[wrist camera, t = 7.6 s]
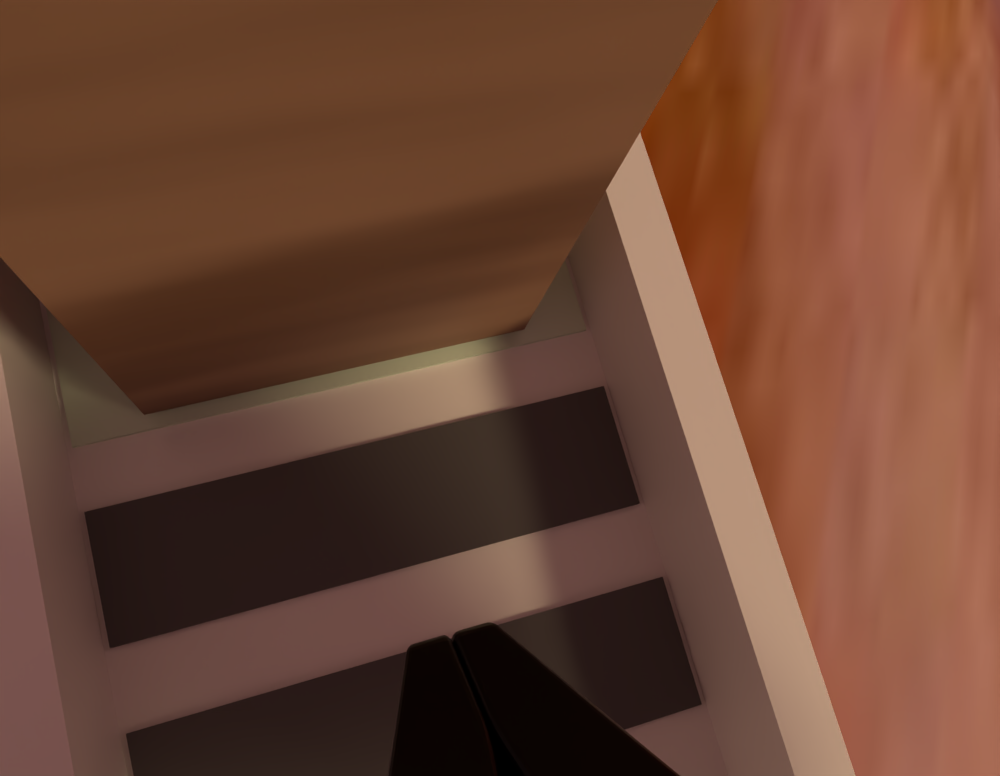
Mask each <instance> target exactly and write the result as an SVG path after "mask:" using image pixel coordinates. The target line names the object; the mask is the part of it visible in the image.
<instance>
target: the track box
mask: <svg viewBox="0 0 1000 776" xmlns="http://www.w3.org/2000/svg"><path fill="white" fill-rule="evenodd" d="M487 622H491V623H495V624H497V625H498V626H499V627H501V628H502V629H503V630H504V631H505V632H507V633H508V634H509V635H510V636H512V637H513V638H514V639H515V640H516V641H518V642H519V643H520V644H521V645H522V646H524V647H525V648H526V649H527V650H529V651H530V652H531V653H532V654H533V655H535V656H536V657H537V658H538V659H539V660H541V661H542V662H543V663H544V664H546V665H547V666H548V667H549V668H550V669H552V670H553V671H554V672H555V673H556V674H558V675H559V676H560V677H561V678H563V679H564V680H565V681H566V682H567V683H569V684H570V685H571V686H572V687H573V688H575V689H576V690H577V691H578V692H579V693H581V694H582V695H583V696H584V697H586V698H587V699H588V700H589V701H590V702H592V703H593V704H594V705H595V706H596V707H598V708H599V709H600V710H601V711H603V712H604V713H605V714H606V715H607V716H609V717H610V718H611V719H612V720H613V721H615V722H616V723H617V724H618V725H620V726H621V727H622V728H623V729H624V730H626V731H627V732H628V733H629V734H630V735H632V736H633V737H634V738H635V739H636V740H638V741H639V742H640V743H641V744H643V745H644V746H645V747H646V748H647V749H649V750H650V751H651V752H652V753H653V754H655V755H656V756H657V757H658V758H660V759H661V760H662V761H663V762H664V763H666V764H667V765H668V766H669V767H670V768H672V769H673V770H674V771H675V772H677V773H678V774H679V775H680V776H855V773H854V770H853V767H852V764H851V761H850V758H849V755H848V752H847V749H846V746H845V743H844V740H843V737H842V734H841V731H840V728H839V725H838V722H837V719H836V716H835V713H834V710H833V707H832V704H831V701H830V698H829V695H828V692H827V689H826V686H825V683H824V680H823V677H822V674H821V671H820V668H819V665H818V662H817V659H816V656H815V653H814V650H813V647H812V644H811V641H810V638H809V635H808V632H807V629H806V626H805V623H804V620H803V617H802V614H801V612H800V609H799V606H798V603H797V600H796V597H795V594H794V591H793V588H792V585H791V582H790V579H789V576H788V573H787V570H786V567H785V564H784V561H783V558H782V555H781V552H780V549H779V546H778V543H777V540H776V537H775V534H774V531H773V528H772V525H771V522H770V519H769V516H768V513H767V510H766V507H765V504H764V501H763V498H762V495H761V492H760V489H759V486H758V483H757V480H756V477H755V474H754V471H753V468H752V465H751V462H750V459H749V456H748V453H747V450H746V447H745V444H744V441H743V438H742V435H741V432H740V429H739V426H738V423H737V420H736V417H735V414H734V411H733V408H732V406H731V403H730V400H729V397H728V394H727V391H726V388H725V385H724V382H723V379H722V376H721V373H720V370H719V367H718V364H717V361H716V358H715V355H714V352H713V349H712V346H711V343H710V340H709V337H708V334H707V331H706V328H705V325H704V322H703V319H702V316H701V313H700V310H699V307H698V304H697V301H696V298H695V295H694V292H693V289H692V286H691V283H690V280H689V277H688V274H687V271H686V268H685V265H684V262H683V259H682V256H681V253H680V250H679V247H678V244H677V241H676V238H675V235H674V232H673V229H672V226H671V223H670V220H669V217H668V214H667V211H666V208H665V205H664V202H663V200H662V197H661V194H660V191H659V188H658V185H657V182H656V179H655V176H654V173H653V170H652V167H651V164H650V161H649V158H648V155H647V152H646V149H645V146H644V143H643V140H642V137H641V134H640V133H639V135H638V137H637V138H636V140H635V142H634V144H633V145H632V147H631V149H630V150H629V152H628V154H627V155H626V157H625V159H624V161H623V162H622V164H621V166H620V167H619V169H618V171H617V172H616V174H615V176H614V178H613V179H612V181H611V183H610V184H609V186H608V188H607V189H606V191H605V193H604V195H603V196H602V198H601V200H600V201H599V203H598V205H597V206H596V208H595V210H594V212H593V213H592V215H591V217H590V218H589V220H588V222H587V223H586V225H585V227H584V229H583V230H582V232H581V234H580V235H579V237H578V239H577V240H576V242H575V244H574V246H573V247H572V249H571V251H570V252H569V254H568V256H567V257H566V259H565V261H564V263H563V264H562V266H561V268H560V269H559V271H558V273H557V274H556V276H555V278H554V280H553V281H552V283H551V285H550V286H549V288H548V290H547V291H546V293H545V295H544V297H543V298H542V300H541V302H540V303H539V305H538V307H537V308H536V310H535V312H534V314H533V315H532V317H531V319H530V320H529V322H528V324H527V325H526V327H525V329H524V330H520V331H515V332H511V333H506V334H502V335H498V336H493V337H489V338H484V339H480V340H475V341H471V342H466V343H462V344H457V345H453V346H449V347H444V348H440V349H435V350H431V351H426V352H422V353H417V354H413V355H409V356H404V357H400V358H395V359H391V360H386V361H382V362H377V363H373V364H369V365H364V366H360V367H355V368H351V369H346V370H342V371H337V372H333V373H329V374H324V375H320V376H315V377H311V378H306V379H302V380H297V381H293V382H288V383H284V384H280V385H275V386H271V387H266V388H262V389H257V390H253V391H248V392H244V393H240V394H235V395H231V396H226V397H222V398H217V399H213V400H208V401H204V402H200V403H195V404H191V405H186V406H182V407H177V408H173V409H168V410H164V411H159V412H155V413H151V414H146V415H144V414H143V413H142V412H141V411H140V410H139V409H138V408H137V406H136V405H135V404H134V403H133V402H132V401H131V400H130V399H129V398H128V397H127V395H126V394H125V393H124V392H123V391H122V390H121V389H120V388H119V387H118V386H117V385H116V383H115V382H114V381H113V380H112V379H111V378H110V377H109V376H108V375H107V374H106V372H105V371H104V370H103V369H102V368H101V367H100V366H99V365H98V364H97V363H96V362H95V360H94V359H93V358H92V357H91V356H90V355H89V354H88V353H87V352H86V351H85V349H84V348H83V347H82V346H81V345H80V344H79V343H78V342H77V341H76V340H75V339H74V337H73V336H72V335H71V334H70V333H69V332H68V331H67V330H66V329H65V328H64V326H63V325H62V324H61V323H60V322H59V321H58V320H57V319H56V318H55V317H54V315H53V314H52V313H51V312H50V311H49V310H48V309H47V308H46V307H45V306H44V305H43V303H42V302H41V301H40V300H39V299H38V298H37V297H36V296H35V295H34V294H33V292H32V291H31V290H30V289H29V288H28V287H27V286H26V285H25V284H24V283H23V282H22V280H21V279H20V278H19V277H18V276H17V275H16V274H15V273H14V272H13V271H12V269H11V268H10V267H9V266H8V265H7V264H6V263H5V262H4V261H3V260H2V259H1V257H0V776H387V775H388V769H389V762H390V755H391V749H392V742H393V735H394V728H395V722H396V715H397V708H398V701H399V695H400V688H401V681H402V675H403V668H404V661H405V655H406V651H407V649H408V647H409V646H410V645H412V644H414V643H418V642H421V641H425V640H428V639H431V638H435V637H438V636H442V635H446V636H448V637H449V638H451V640H452V636H453V635H454V633H455V632H457V631H459V630H462V629H466V628H469V627H473V626H476V625H480V624H483V623H487Z"/></svg>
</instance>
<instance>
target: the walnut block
mask: <svg viewBox="0 0 1000 776" xmlns="http://www.w3.org/2000/svg"><path fill="white" fill-rule="evenodd" d="M717 1H718V0H0V257H1V259H2V260H3V261H4V262H5V263H6V264H7V265H8V266H9V267H10V268H11V269H12V271H13V272H14V273H15V274H16V275H17V276H18V277H19V278H20V279H21V280H22V282H23V283H24V284H25V285H26V286H27V287H28V288H29V289H30V290H31V291H32V292H33V294H34V295H35V296H36V297H37V298H38V299H39V300H40V301H41V302H42V303H43V305H44V306H45V307H46V308H47V309H48V310H49V311H50V312H51V313H52V314H53V315H54V317H55V318H56V319H57V320H58V321H59V322H60V323H61V324H62V325H63V326H64V328H65V329H66V330H67V331H68V332H69V333H70V334H71V335H72V336H73V337H74V339H75V340H76V341H77V342H78V343H79V344H80V345H81V346H82V347H83V348H84V349H85V351H86V352H87V353H88V354H89V355H90V356H91V357H92V358H93V359H94V360H95V362H96V363H97V364H98V365H99V366H100V367H101V368H102V369H103V370H104V371H105V372H106V374H107V375H108V376H109V377H110V378H111V379H112V380H113V381H114V382H115V383H116V385H117V386H118V387H119V388H120V389H121V390H122V391H123V392H124V393H125V394H126V395H127V397H128V398H129V399H130V400H131V401H132V402H133V403H134V404H135V405H136V406H137V408H138V409H139V410H140V411H141V412H142V413H143V414H144V415H146V414H151V413H155V412H159V411H164V410H168V409H173V408H177V407H182V406H186V405H191V404H195V403H200V402H204V401H208V400H213V399H217V398H222V397H226V396H231V395H235V394H240V393H244V392H248V391H253V390H257V389H262V388H266V387H271V386H275V385H280V384H284V383H288V382H293V381H297V380H302V379H306V378H311V377H315V376H320V375H324V374H329V373H333V372H337V371H342V370H346V369H351V368H355V367H360V366H364V365H369V364H373V363H377V362H382V361H386V360H391V359H395V358H400V357H404V356H409V355H413V354H417V353H422V352H426V351H431V350H435V349H440V348H444V347H449V346H453V345H457V344H462V343H466V342H471V341H475V340H480V339H484V338H489V337H493V336H498V335H502V334H506V333H511V332H515V331H520V330H524V329H525V327H526V325H527V324H528V322H529V320H530V319H531V317H532V315H533V314H534V312H535V310H536V308H537V307H538V305H539V303H540V302H541V300H542V298H543V297H544V295H545V293H546V291H547V290H548V288H549V286H550V285H551V283H552V281H553V280H554V278H555V276H556V274H557V273H558V271H559V269H560V268H561V266H562V264H563V263H564V261H565V259H566V257H567V256H568V254H569V252H570V251H571V249H572V247H573V246H574V244H575V242H576V240H577V239H578V237H579V235H580V234H581V232H582V230H583V229H584V227H585V225H586V223H587V222H588V220H589V218H590V217H591V215H592V213H593V212H594V210H595V208H596V206H597V205H598V203H599V201H600V200H601V198H602V196H603V195H604V193H605V191H606V189H607V188H608V186H609V184H610V183H611V181H612V179H613V178H614V176H615V174H616V172H617V171H618V169H619V167H620V166H621V164H622V162H623V161H624V159H625V157H626V155H627V154H628V152H629V150H630V149H631V147H632V145H633V144H634V142H635V140H636V138H637V137H638V135H639V133H640V132H641V130H642V128H643V127H644V125H645V123H646V121H647V120H648V118H649V116H650V115H651V113H652V111H653V110H654V108H655V106H656V104H657V103H658V101H659V99H660V98H661V96H662V94H663V93H664V91H665V89H666V87H667V86H668V84H669V82H670V81H671V79H672V77H673V76H674V74H675V72H676V70H677V69H678V67H679V65H680V64H681V62H682V60H683V59H684V57H685V55H686V53H687V52H688V50H689V48H690V47H691V45H692V43H693V42H694V40H695V38H696V36H697V35H698V33H699V31H700V30H701V28H702V26H703V25H704V23H705V21H706V19H707V18H708V16H709V14H710V13H711V11H712V9H713V8H714V6H715V4H716V3H717Z"/></svg>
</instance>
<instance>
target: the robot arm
mask: <svg viewBox="0 0 1000 776" xmlns="http://www.w3.org/2000/svg"><path fill="white" fill-rule="evenodd" d="M387 776H680V775H679V774H678V773H677V772H675V771H674V770H673V769H672V768H670V767H669V766H668V765H667V764H666V763H664V762H663V761H662V760H661V759H660V758H658V757H657V756H656V755H655V754H653V753H652V752H651V751H650V750H649V749H647V748H646V747H645V746H644V745H643V744H641V743H640V742H639V741H638V740H636V739H635V738H634V737H633V736H632V735H630V734H629V733H628V732H627V731H626V730H624V729H623V728H622V727H621V726H620V725H618V724H617V723H616V722H615V721H613V720H612V719H611V718H610V717H609V716H607V715H606V714H605V713H604V712H603V711H601V710H600V709H599V708H598V707H596V706H595V705H594V704H593V703H592V702H590V701H589V700H588V699H587V698H586V697H584V696H583V695H582V694H581V693H579V692H578V691H577V690H576V689H575V688H573V687H572V686H571V685H570V684H569V683H567V682H566V681H565V680H564V679H563V678H561V677H560V676H559V675H558V674H556V673H555V672H554V671H553V670H552V669H550V668H549V667H548V666H547V665H546V664H544V663H543V662H542V661H541V660H539V659H538V658H537V657H536V656H535V655H533V654H532V653H531V652H530V651H529V650H527V649H526V648H525V647H524V646H522V645H521V644H520V643H519V642H518V641H516V640H515V639H514V638H513V637H512V636H510V635H509V634H508V633H507V632H505V631H504V630H503V629H502V628H501V627H499V626H498V625H497V624H495V623H491V622H487V623H483V624H480V625H476V626H473V627H469V628H466V629H462V630H459V631H457V632H455V633H454V635H453V636H452V640H451V638H449V637H448V636H446V635H442V636H438V637H435V638H431V639H428V640H425V641H421V642H418V643H414V644H412V645H410V646H409V647H408V649H407V651H406V655H405V661H404V668H403V675H402V681H401V688H400V695H399V701H398V708H397V715H396V722H395V728H394V735H393V742H392V749H391V755H390V762H389V769H388V775H387Z"/></svg>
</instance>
